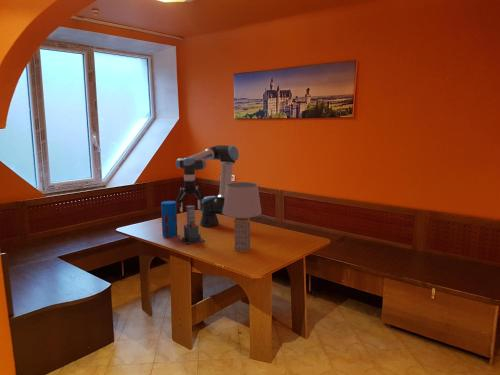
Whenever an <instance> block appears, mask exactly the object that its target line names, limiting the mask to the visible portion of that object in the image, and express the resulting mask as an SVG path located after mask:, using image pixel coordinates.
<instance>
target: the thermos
mask: <svg viewBox="0 0 500 375" xmlns="http://www.w3.org/2000/svg"><path fill="white" fill-rule="evenodd" d="M160 204H161V205H160V206H161V208H160V209H161V211H160V212H161V232H162V237H163V238H166V239H167V238H169V239H171V238H175V237H177V236H178V215H177V214H178V213H177V212H178V211H177V201H176V200H167V201H166V200H164V201H162V202H161V203H160Z"/></svg>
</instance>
